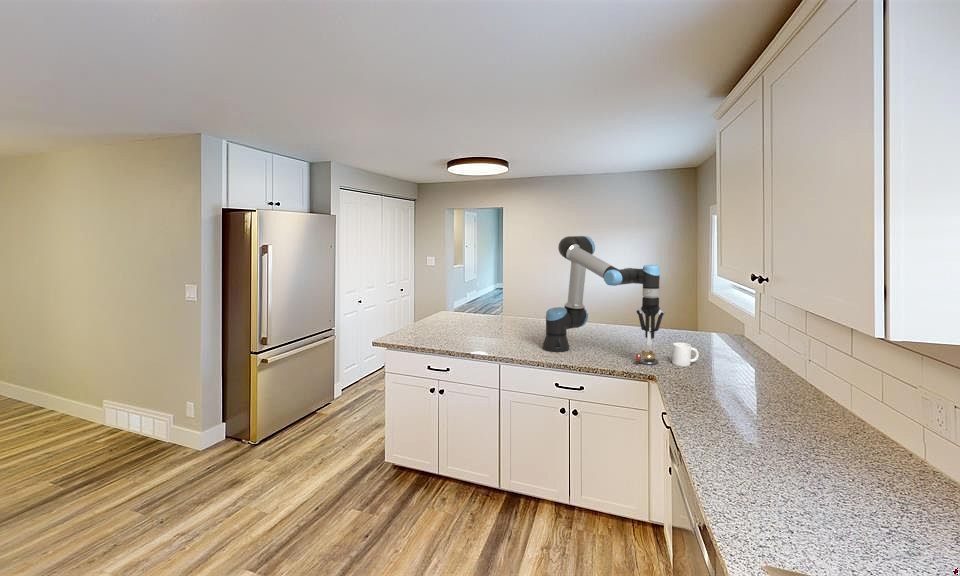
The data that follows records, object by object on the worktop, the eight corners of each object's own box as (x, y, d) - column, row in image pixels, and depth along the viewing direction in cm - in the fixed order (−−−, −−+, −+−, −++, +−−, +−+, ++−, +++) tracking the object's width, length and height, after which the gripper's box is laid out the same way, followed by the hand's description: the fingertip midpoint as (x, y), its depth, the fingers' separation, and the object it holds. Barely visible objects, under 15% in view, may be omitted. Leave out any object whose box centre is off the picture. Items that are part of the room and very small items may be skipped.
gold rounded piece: (646, 356, 218) (646, 349, 218) (658, 359, 212) (658, 352, 212) (630, 360, 212) (631, 352, 211) (642, 363, 206) (643, 356, 205)
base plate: (633, 362, 214) (633, 359, 214) (642, 358, 220) (643, 355, 220) (652, 366, 206) (652, 363, 206) (661, 362, 213) (661, 359, 213)
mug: (696, 363, 211) (697, 343, 210) (700, 368, 203) (701, 347, 202) (670, 361, 214) (671, 342, 212) (674, 366, 206) (675, 346, 204)
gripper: (634, 296, 203) (633, 344, 206) (662, 298, 195) (661, 348, 198) (639, 295, 209) (638, 341, 211) (667, 296, 201) (665, 344, 203)
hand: (649, 344), depth 205 cm, fingers closed
